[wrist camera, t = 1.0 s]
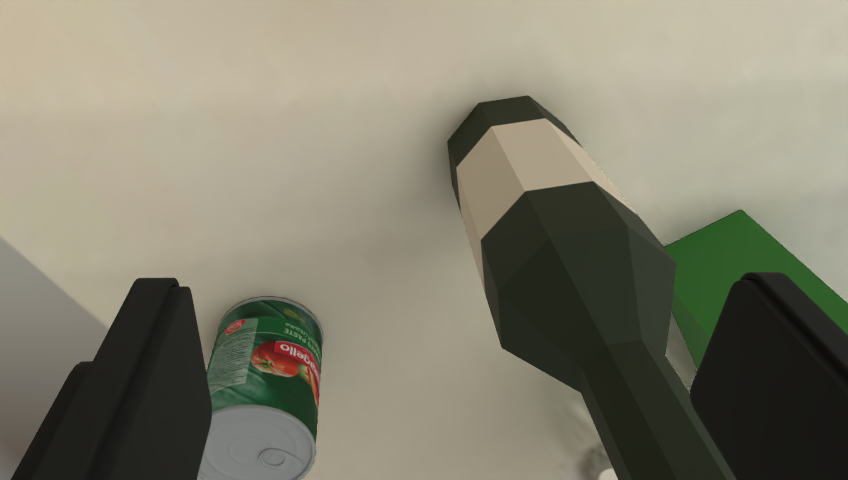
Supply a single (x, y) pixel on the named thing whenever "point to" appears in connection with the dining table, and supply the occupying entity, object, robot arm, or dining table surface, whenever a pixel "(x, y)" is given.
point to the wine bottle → (578, 285)
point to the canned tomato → (263, 392)
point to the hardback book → (734, 276)
